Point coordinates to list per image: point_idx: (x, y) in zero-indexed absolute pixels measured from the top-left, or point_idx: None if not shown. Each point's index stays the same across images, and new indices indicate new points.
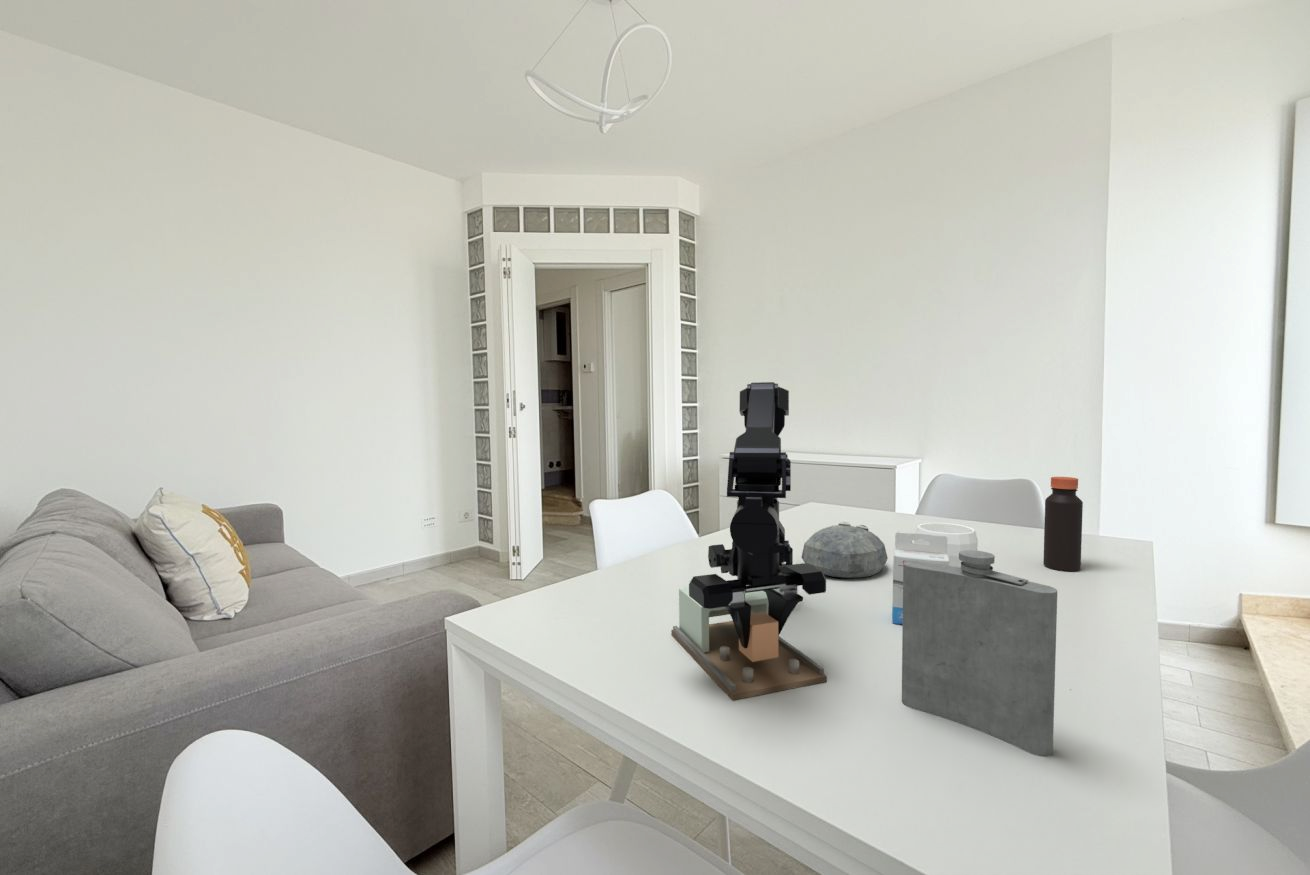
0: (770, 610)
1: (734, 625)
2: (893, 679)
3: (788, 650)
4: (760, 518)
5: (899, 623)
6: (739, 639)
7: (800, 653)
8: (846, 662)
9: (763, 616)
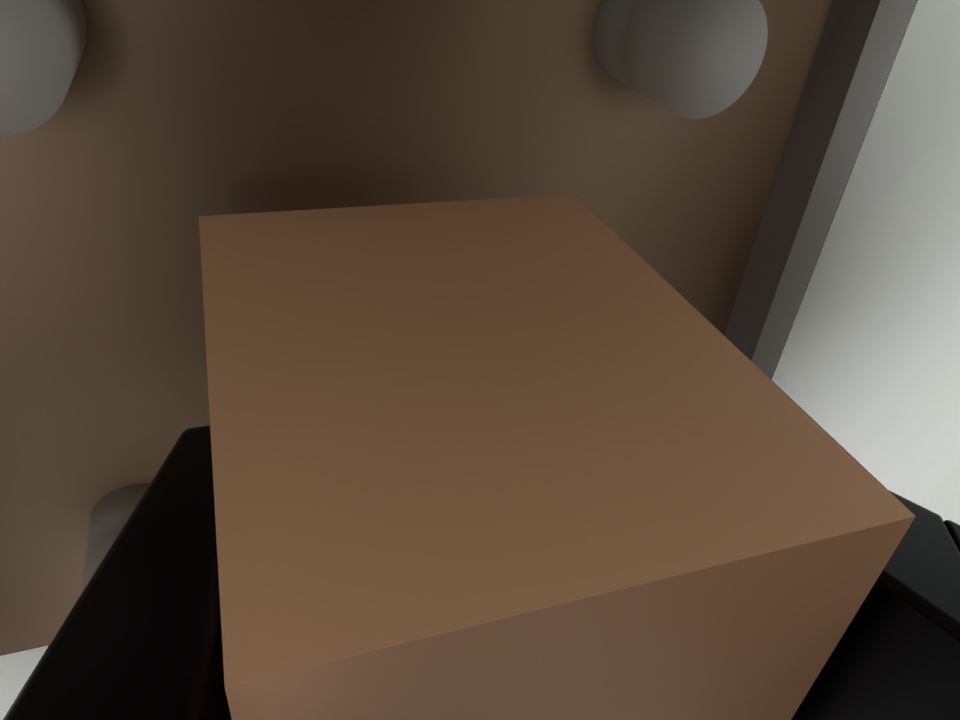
0: (943, 705)
1: (17, 706)
2: (923, 488)
3: (802, 118)
4: None
5: None
6: (150, 488)
7: (786, 299)
8: (956, 301)
9: (714, 705)
